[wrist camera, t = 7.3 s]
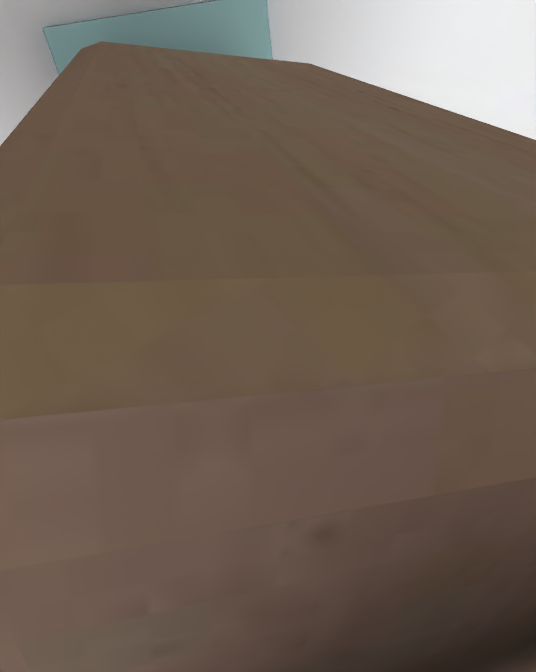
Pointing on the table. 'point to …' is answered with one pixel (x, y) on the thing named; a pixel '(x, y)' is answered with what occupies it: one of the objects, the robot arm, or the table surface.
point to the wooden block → (263, 375)
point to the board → (173, 30)
